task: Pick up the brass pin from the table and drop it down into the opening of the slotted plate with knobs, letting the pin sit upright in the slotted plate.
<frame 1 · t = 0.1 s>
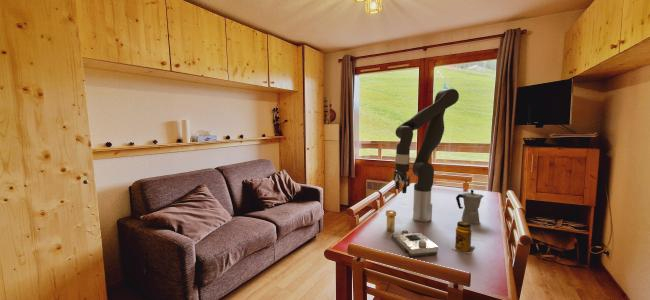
hand: (400, 191, 152), 17 cm above the table, tool pointing down, fingers open, 8 cm apart
brass pin: (390, 230, 141), on the table
slotted plate with knobs: (413, 246, 123), on the table
coffeepot: (468, 221, 153), on the table
condiment: (463, 248, 121), on the table
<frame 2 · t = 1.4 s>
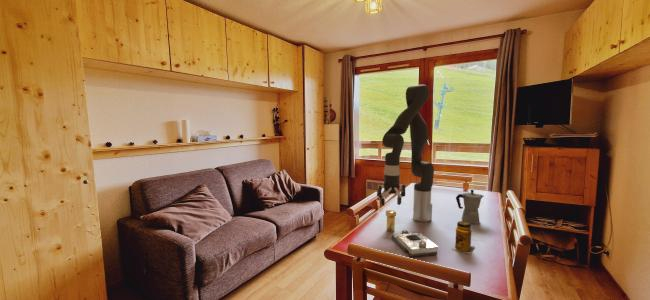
hand: (390, 204, 139), 14 cm above the table, tool pointing down, fingers open, 8 cm apart
nothing on the table moved.
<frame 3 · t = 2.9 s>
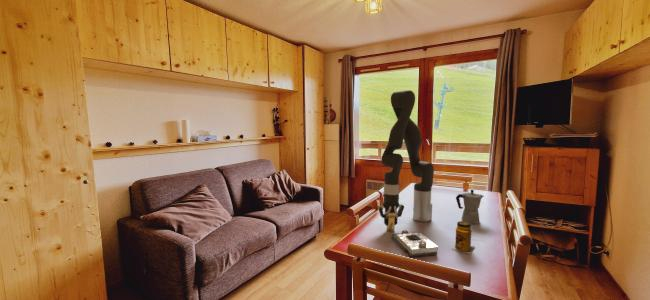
hand: (390, 224, 140), 3 cm above the table, tool pointing down, fingers closed on brass pin, 4 cm apart
brass pin: (390, 230, 141), on the table, touching gripper
everything else where it was.
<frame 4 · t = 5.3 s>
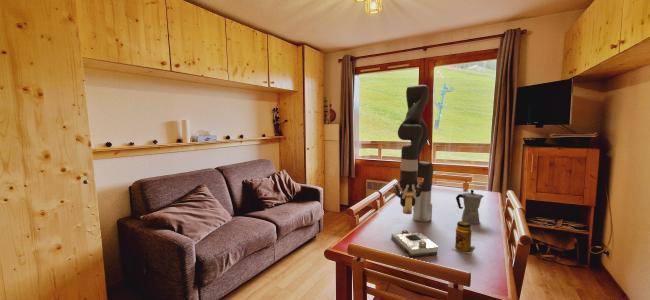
hand: (407, 205, 125), 18 cm above the table, tool pointing down, fingers closed on brass pin, 4 cm apart
brass pin: (407, 212, 125), point 14 cm above the table, touching gripper
everything else where it was.
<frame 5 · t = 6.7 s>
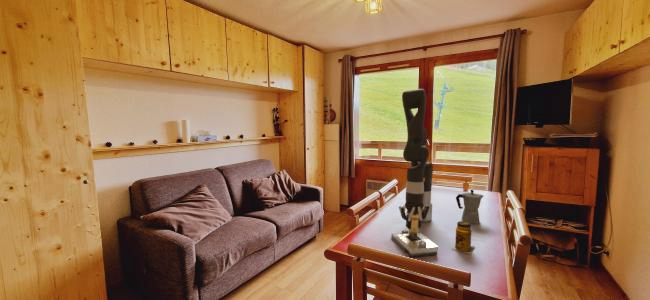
hand: (413, 227, 122), 9 cm above the table, tool pointing down, fingers closed on brass pin, 4 cm apart
brass pin: (413, 234, 123), point 5 cm above the table, touching gripper
everything else where it was.
when the fingers open (5 cm above the table, at t = 7.7 s): brass pin drops 2 cm, resting in slotted plate with knobs.
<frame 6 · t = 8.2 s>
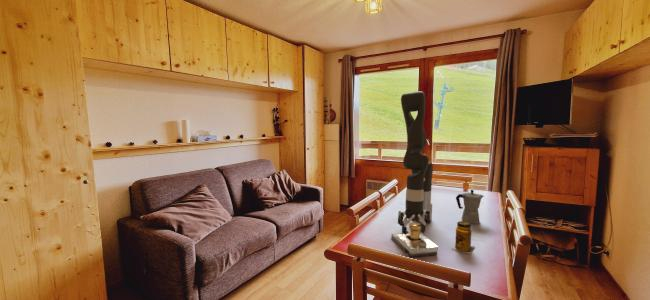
hand: (413, 233, 123), 6 cm above the table, tool pointing down, fingers open, 8 cm apart
brass pin: (414, 246, 124), resting in slotted plate with knobs
everything else where it was.
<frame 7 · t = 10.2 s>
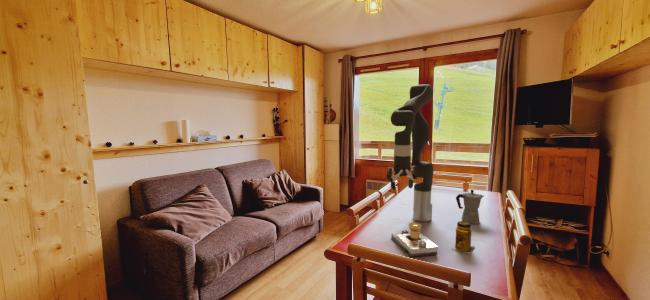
hand: (401, 188, 128), 25 cm above the table, tool pointing down, fingers open, 8 cm apart
nothing on the table moved.
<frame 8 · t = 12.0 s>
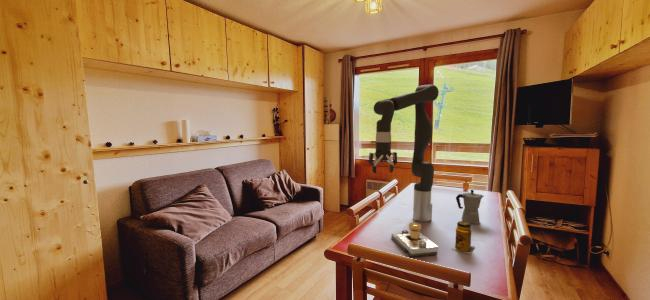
hand: (382, 172, 138), 30 cm above the table, tool pointing down, fingers open, 8 cm apart
nothing on the table moved.
at the end: brass pin 0.7 cm off-centre on the slotted plate with knobs, point 0.0 cm above the slotted plate with knobs's base; brass pin tilted 0°; the gripper is holding nothing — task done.
